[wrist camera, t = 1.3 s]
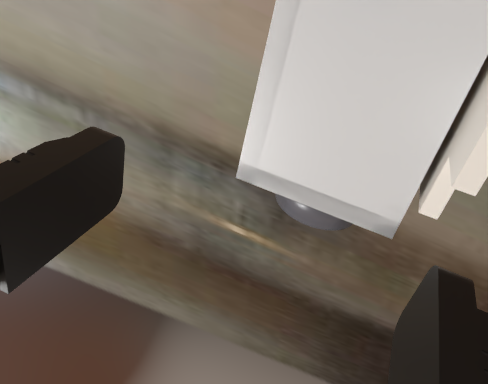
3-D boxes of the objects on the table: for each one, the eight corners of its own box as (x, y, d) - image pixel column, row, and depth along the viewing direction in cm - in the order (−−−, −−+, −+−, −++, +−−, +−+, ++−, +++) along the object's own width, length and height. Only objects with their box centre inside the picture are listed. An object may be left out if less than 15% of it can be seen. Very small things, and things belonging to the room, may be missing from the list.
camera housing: (347, -109, 26) (300, -144, 17) (517, -71, 24) (568, -88, 15) (275, 150, 36) (221, 217, 27) (390, 193, 34) (374, 280, 25)
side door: (502, -21, 25) (555, -2, 14) (523, -15, 24) (595, 9, 14) (421, 144, 31) (414, 247, 20) (437, 150, 30) (439, 257, 20)
